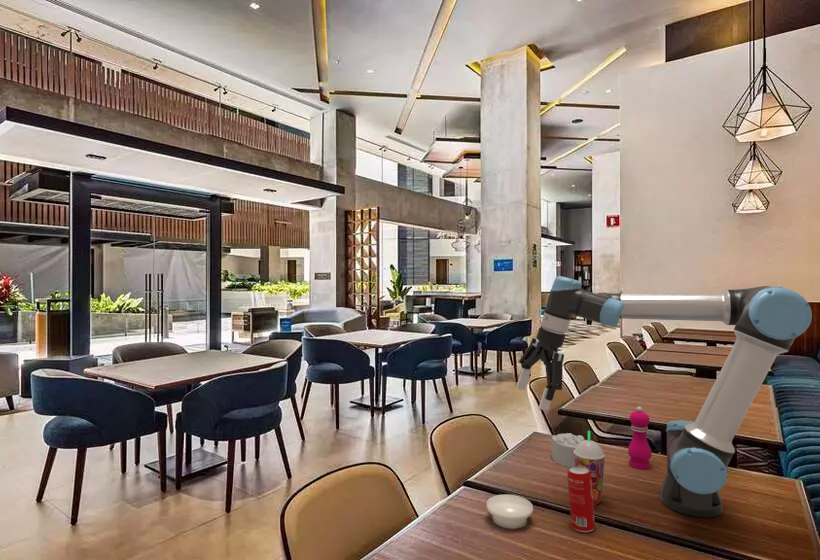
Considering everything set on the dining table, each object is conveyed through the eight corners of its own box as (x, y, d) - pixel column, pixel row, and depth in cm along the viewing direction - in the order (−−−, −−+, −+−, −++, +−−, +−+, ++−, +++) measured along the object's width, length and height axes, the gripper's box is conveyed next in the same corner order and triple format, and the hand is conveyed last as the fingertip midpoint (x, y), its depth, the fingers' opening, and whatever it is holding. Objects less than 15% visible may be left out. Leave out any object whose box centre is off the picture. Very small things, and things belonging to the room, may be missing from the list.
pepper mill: (655, 470, 159) (655, 409, 159) (633, 470, 159) (633, 409, 159) (645, 461, 166) (645, 403, 166) (624, 461, 166) (624, 403, 166)
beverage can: (598, 533, 121) (597, 474, 120) (572, 533, 121) (571, 474, 121) (589, 521, 127) (589, 464, 126) (565, 521, 127) (564, 464, 127)
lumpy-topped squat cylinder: (574, 453, 175) (574, 429, 174) (595, 467, 162) (595, 441, 162) (548, 456, 172) (548, 432, 172) (567, 470, 160) (567, 444, 159)
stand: (533, 511, 132) (533, 497, 132) (531, 534, 120) (531, 518, 120) (489, 506, 135) (489, 492, 135) (483, 527, 124) (483, 512, 124)
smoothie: (582, 491, 144) (581, 424, 144) (610, 500, 138) (609, 431, 138) (568, 500, 138) (568, 431, 138) (597, 510, 132) (596, 438, 132)
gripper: (520, 315, 148) (501, 380, 151) (566, 341, 124) (542, 417, 127) (541, 320, 150) (522, 383, 153) (590, 346, 127) (566, 420, 129)
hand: (531, 399), depth 140 cm, fingers open, 13 cm apart
